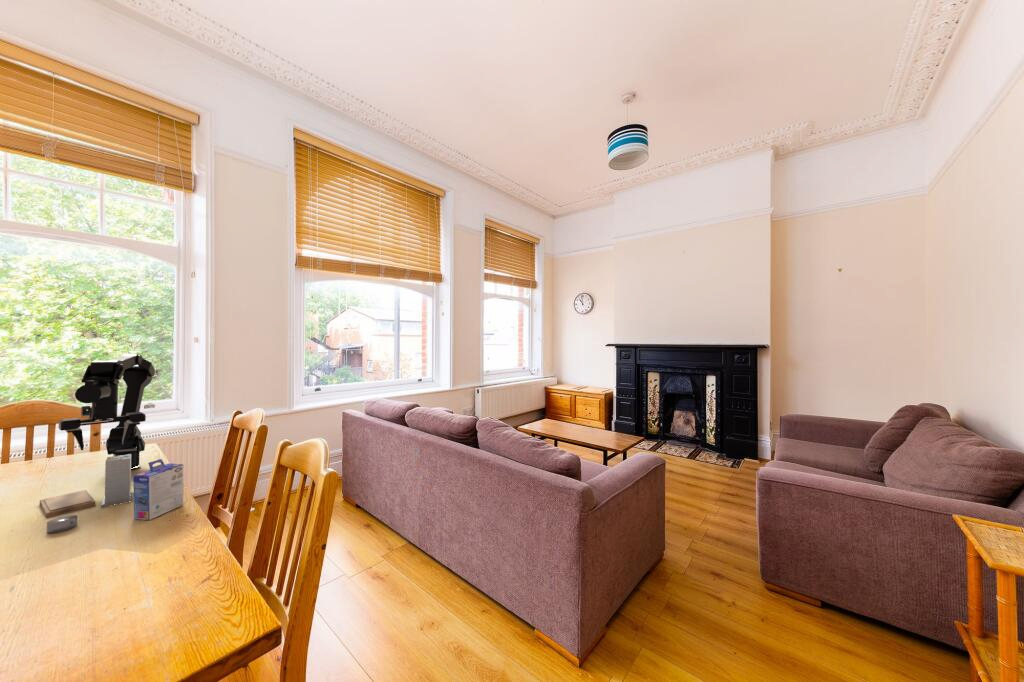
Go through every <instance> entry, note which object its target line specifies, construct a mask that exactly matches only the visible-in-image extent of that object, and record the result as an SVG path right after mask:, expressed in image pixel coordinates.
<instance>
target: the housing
mask: <svg viewBox="0 0 1024 682" xmlns="http://www.w3.org/2000/svg"><path fill="white" fill-rule="evenodd" d="M104 465H105V468H104V469H105V472H104V473H105V474H104V475H105V476H104V478H105V479H104V480H105V481H104V497H102V500H101V503H100V508H101V507H102V508H107V507H111V506H110V505H113V506H115V505H114V504H118V505H121V504H120V503H123V504H125V503H124V502H128V503H130V502H129V501H133V502H134V498H133V497H134V491H132V492H131V490H132V485H131V484H132V470H131V454H127V455H120V456H107V458H106V460H105V464H104ZM106 506H107V507H106Z"/></svg>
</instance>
